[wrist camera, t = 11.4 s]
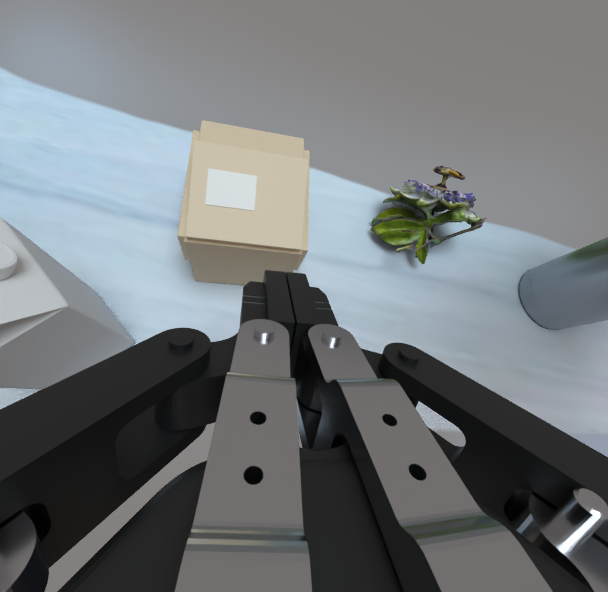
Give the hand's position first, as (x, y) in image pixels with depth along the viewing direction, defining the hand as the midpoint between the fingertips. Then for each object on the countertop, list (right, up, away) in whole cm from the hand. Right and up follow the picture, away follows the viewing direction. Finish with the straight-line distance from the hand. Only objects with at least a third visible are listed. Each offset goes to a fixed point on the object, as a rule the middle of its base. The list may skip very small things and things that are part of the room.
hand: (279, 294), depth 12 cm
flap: (-4, +8, +16) cm, 18 cm away
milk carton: (-21, -4, +20) cm, 30 cm away
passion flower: (+16, +9, +33) cm, 38 cm away
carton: (-6, +7, +27) cm, 28 cm away
